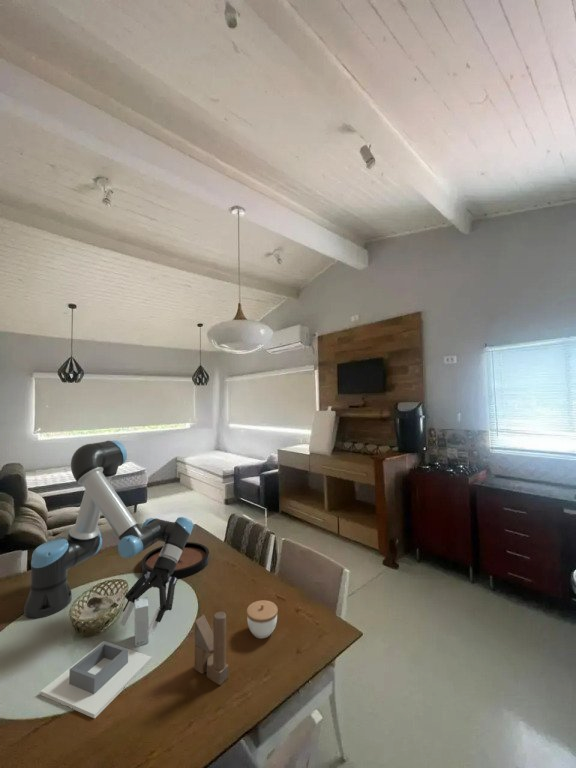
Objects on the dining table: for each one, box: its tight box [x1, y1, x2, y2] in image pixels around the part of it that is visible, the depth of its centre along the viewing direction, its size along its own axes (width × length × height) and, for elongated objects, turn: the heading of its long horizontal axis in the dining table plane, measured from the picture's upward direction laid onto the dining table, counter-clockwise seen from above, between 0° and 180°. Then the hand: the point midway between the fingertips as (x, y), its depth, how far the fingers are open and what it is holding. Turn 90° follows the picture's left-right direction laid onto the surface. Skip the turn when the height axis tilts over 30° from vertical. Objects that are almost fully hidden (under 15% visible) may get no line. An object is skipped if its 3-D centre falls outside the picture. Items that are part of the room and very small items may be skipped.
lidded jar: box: [246, 599, 279, 639], centre depth 115 cm, size 11×11×9 cm
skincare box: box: [134, 596, 150, 647], centre depth 112 cm, size 6×4×12 cm
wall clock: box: [141, 541, 210, 580], centre depth 164 cm, size 31×4×31 cm
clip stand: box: [40, 640, 153, 720], centre depth 97 cm, size 20×20×5 cm
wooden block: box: [194, 611, 229, 686], centre depth 98 cm, size 4×11×18 cm, turn 57°
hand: (135, 628), depth 109 cm, fingers open, 11 cm apart
